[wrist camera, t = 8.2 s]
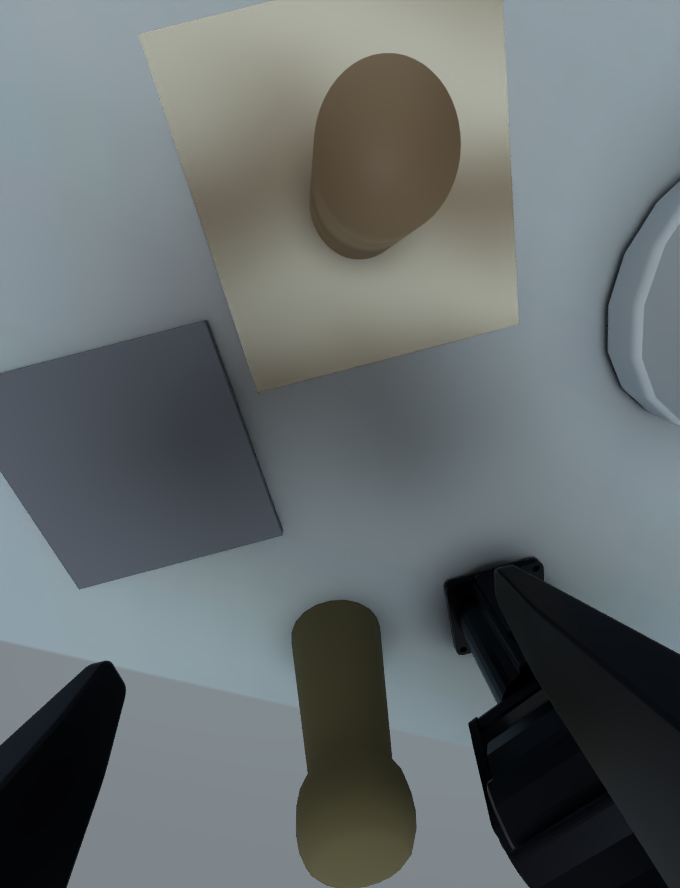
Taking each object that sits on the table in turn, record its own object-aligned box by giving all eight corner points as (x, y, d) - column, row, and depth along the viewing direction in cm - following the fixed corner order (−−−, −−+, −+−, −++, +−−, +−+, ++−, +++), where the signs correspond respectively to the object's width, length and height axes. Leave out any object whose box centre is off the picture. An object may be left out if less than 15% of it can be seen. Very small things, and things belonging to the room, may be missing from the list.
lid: (507, 323, 14) (604, 330, 10) (259, 388, 14) (240, 425, 9) (485, -30, 10) (626, -289, 6) (149, 54, 10) (33, -144, 6)
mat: (282, 531, 21) (282, 535, 21) (83, 584, 21) (79, 589, 20) (206, 320, 17) (204, 320, 16) (-47, 386, 16) (-55, 388, 16)
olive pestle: (274, 623, 23) (254, 869, 13) (358, 586, 23) (405, 809, 13) (315, 679, 25) (325, 927, 15) (393, 645, 25) (456, 877, 15)
